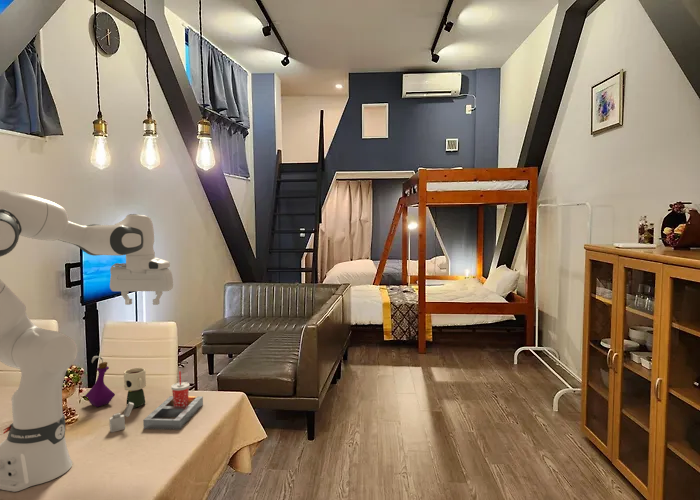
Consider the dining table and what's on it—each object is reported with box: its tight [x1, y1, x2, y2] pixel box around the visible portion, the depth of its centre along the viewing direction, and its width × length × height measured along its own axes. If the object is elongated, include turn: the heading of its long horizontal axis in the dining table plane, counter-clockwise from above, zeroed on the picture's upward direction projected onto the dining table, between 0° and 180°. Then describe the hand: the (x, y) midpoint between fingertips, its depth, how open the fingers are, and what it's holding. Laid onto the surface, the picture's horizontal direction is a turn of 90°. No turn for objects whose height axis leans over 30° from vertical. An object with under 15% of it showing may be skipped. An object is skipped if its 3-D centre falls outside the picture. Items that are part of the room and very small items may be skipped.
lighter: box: [109, 402, 134, 434], centre depth 151 cm, size 7×2×8 cm, turn 128°
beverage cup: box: [170, 370, 190, 406], centre depth 165 cm, size 6×6×14 cm
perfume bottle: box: [84, 355, 116, 408], centre depth 170 cm, size 8×8×18 cm
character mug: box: [123, 367, 147, 409], centre depth 169 cm, size 11×7×13 cm, turn 46°
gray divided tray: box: [142, 395, 204, 430], centre depth 160 cm, size 12×20×3 cm, turn 177°
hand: (142, 304), depth 156 cm, fingers open, 8 cm apart
